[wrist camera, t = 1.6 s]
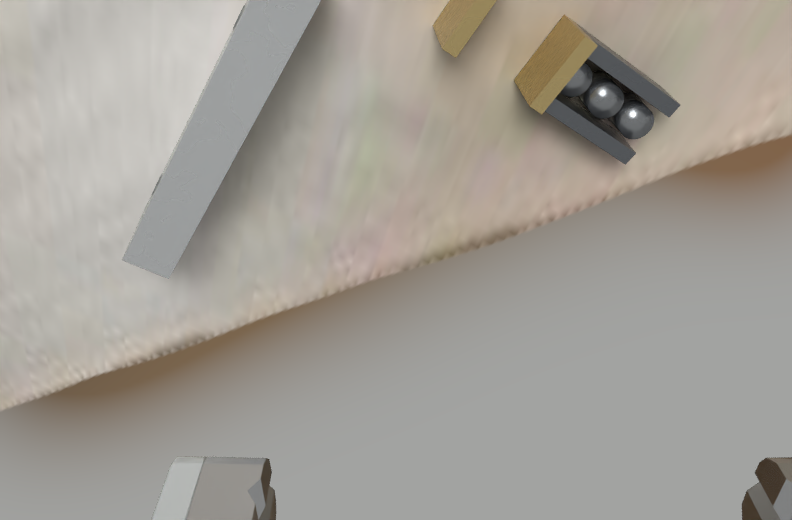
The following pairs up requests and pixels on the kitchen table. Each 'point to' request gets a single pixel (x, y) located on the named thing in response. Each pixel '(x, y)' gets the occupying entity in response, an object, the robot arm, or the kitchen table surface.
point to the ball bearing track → (571, 79)
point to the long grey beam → (217, 129)
